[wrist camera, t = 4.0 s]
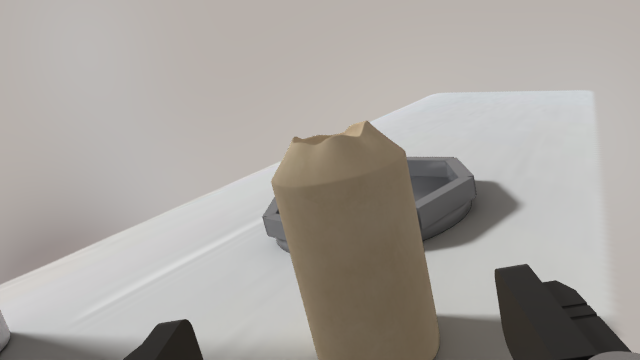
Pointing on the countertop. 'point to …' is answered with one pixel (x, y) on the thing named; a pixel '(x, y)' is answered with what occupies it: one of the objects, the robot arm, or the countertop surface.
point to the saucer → (417, 197)
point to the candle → (357, 246)
